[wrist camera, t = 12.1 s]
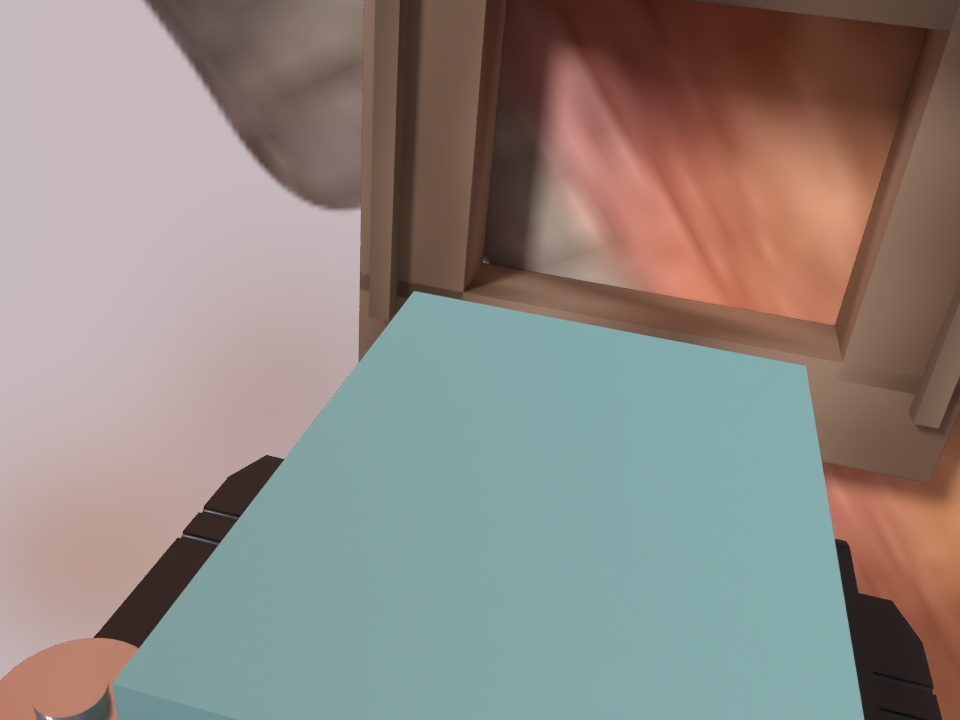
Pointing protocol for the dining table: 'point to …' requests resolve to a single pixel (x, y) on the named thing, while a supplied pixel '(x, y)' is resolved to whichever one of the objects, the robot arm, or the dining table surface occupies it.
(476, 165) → the brown flat frame
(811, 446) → the block
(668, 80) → the dining table surface
